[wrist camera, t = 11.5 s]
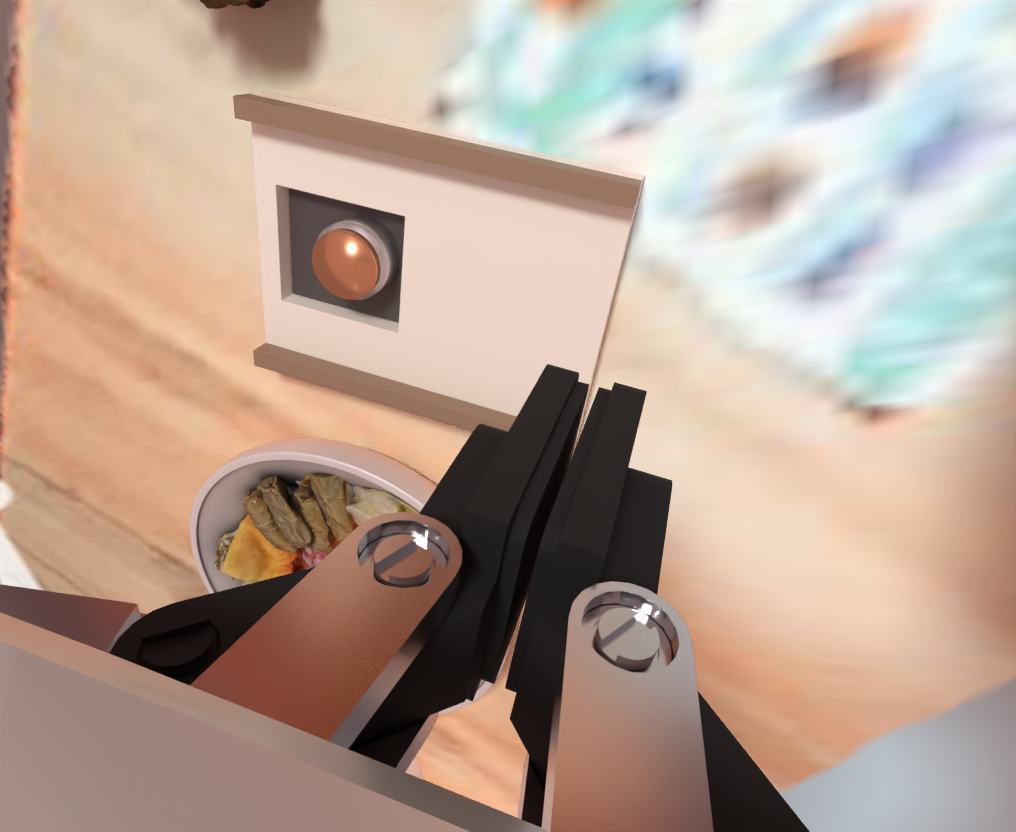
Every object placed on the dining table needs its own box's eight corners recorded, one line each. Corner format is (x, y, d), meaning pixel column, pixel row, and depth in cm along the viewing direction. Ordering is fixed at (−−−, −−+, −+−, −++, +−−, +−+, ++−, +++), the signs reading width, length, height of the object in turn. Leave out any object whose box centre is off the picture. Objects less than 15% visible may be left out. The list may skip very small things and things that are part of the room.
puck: (404, 228, 41) (383, 241, 39) (394, 298, 44) (374, 314, 42) (334, 204, 42) (309, 215, 39) (329, 275, 45) (305, 289, 42)
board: (644, 175, 36) (638, 185, 33) (578, 437, 45) (569, 460, 43) (264, 91, 40) (233, 95, 37) (278, 348, 49) (254, 365, 47)
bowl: (213, 375, 53) (141, 422, 47) (556, 489, 49) (529, 559, 42) (235, 610, 70) (184, 669, 63) (494, 713, 65) (467, 787, 59)
